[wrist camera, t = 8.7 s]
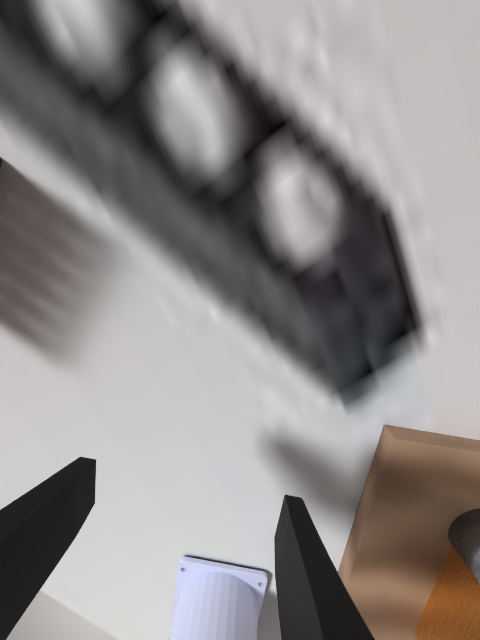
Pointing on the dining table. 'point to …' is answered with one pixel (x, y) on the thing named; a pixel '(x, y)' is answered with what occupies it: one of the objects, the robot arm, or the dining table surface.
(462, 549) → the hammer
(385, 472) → the walnut board
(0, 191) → the dining table surface
